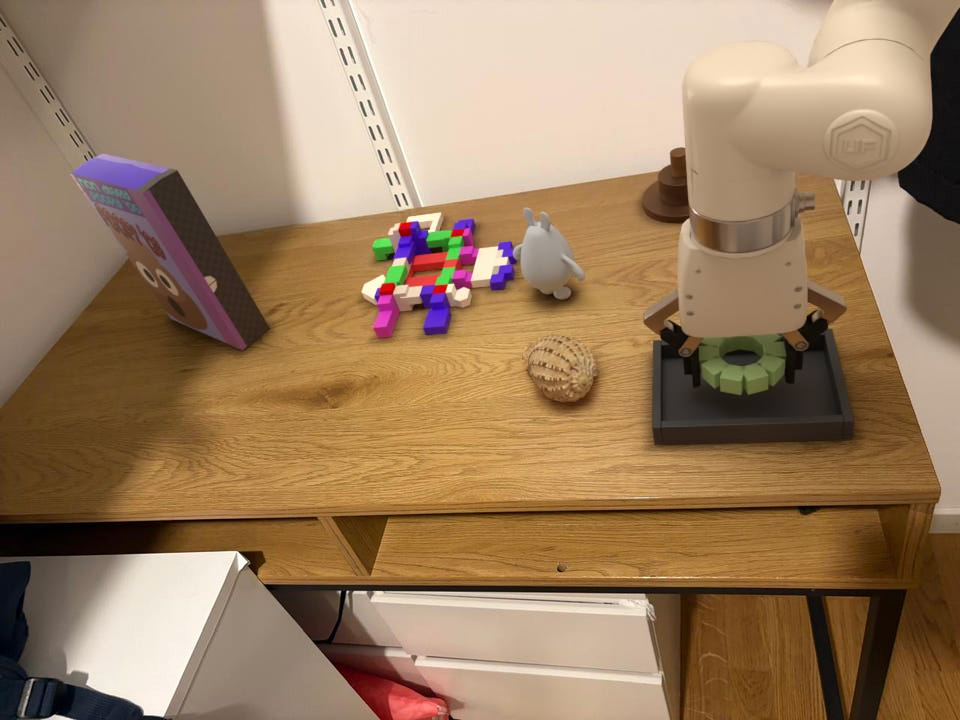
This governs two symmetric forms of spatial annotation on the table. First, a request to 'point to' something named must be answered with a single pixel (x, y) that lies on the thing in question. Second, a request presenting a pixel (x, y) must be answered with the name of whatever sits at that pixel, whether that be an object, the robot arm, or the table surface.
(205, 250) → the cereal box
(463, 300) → the building block set
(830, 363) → the tray
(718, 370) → the ring
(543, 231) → the toy figure
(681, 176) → the stand
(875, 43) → the robot arm
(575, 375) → the seashell
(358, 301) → the table surface
